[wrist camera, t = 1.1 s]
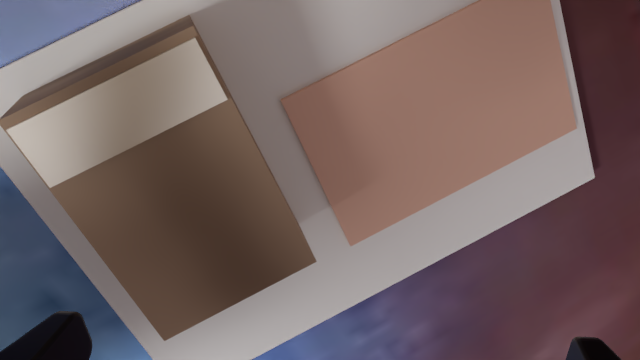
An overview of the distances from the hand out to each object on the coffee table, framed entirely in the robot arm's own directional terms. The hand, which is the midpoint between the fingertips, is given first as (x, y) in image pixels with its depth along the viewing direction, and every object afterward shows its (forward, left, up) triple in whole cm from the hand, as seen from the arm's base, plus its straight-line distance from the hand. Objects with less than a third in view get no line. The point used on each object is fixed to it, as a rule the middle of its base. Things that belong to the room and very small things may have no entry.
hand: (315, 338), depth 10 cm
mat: (+3, -2, -12) cm, 12 cm away
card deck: (-2, 0, -11) cm, 12 cm away
